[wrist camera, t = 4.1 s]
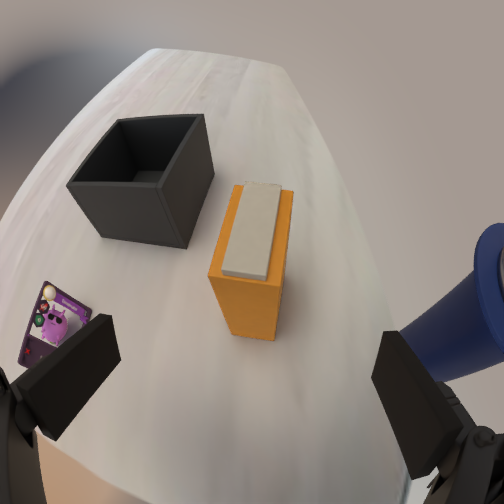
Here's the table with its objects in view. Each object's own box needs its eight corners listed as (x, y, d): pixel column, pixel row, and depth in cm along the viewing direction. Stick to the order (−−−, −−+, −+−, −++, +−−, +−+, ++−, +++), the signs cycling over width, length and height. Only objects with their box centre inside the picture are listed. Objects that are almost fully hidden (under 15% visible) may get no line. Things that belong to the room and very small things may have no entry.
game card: (20, 366, 17) (48, 280, 21) (6, 353, 19) (32, 279, 24) (73, 386, 22) (95, 310, 27) (53, 374, 24) (73, 306, 29)
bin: (214, 173, 37) (203, 113, 29) (186, 249, 31) (161, 187, 22) (138, 170, 38) (117, 119, 30) (101, 237, 32) (65, 185, 24)
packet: (284, 274, 28) (294, 184, 18) (274, 341, 25) (281, 281, 14) (245, 269, 29) (233, 178, 18) (231, 334, 25) (205, 270, 15)
